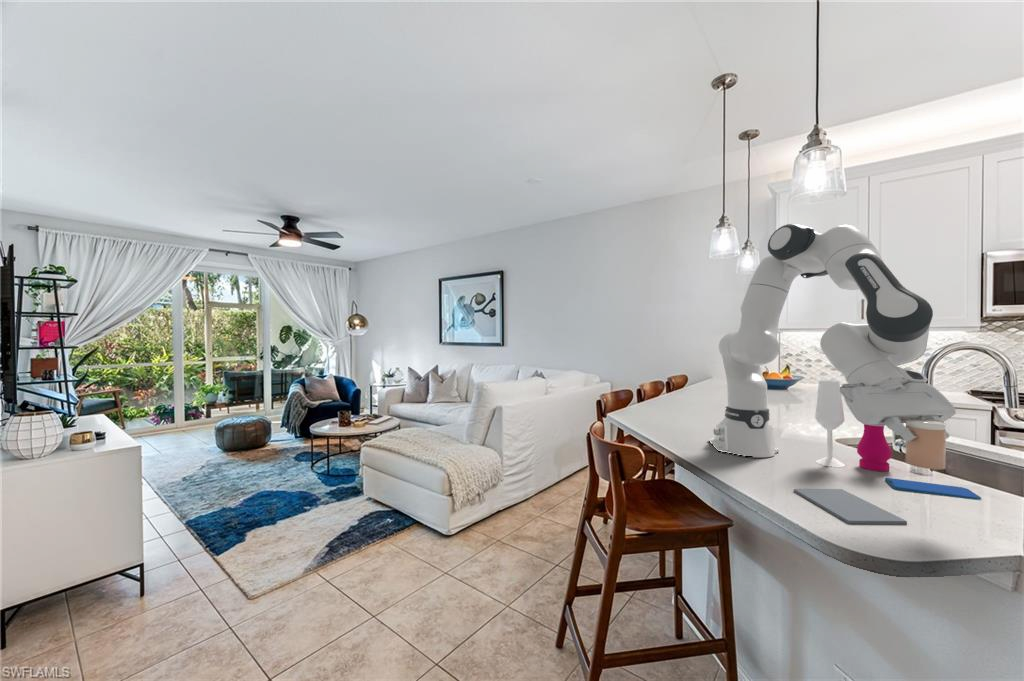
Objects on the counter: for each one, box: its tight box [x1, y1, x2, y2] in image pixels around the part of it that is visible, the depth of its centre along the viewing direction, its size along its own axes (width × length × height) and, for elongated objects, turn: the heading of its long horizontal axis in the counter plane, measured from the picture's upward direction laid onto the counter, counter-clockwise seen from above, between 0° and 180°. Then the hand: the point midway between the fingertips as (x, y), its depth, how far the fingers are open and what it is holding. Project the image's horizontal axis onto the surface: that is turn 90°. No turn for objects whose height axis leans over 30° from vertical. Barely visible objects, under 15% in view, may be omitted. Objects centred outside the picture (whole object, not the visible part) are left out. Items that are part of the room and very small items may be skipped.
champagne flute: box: [814, 379, 846, 468], centre depth 118 cm, size 7×7×24 cm
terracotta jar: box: [905, 419, 947, 470], centre depth 80 cm, size 6×6×8 cm
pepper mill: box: [856, 424, 893, 472], centre depth 113 cm, size 7×7×20 cm
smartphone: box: [884, 477, 982, 500], centre depth 97 cm, size 7×1×15 cm
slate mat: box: [793, 488, 908, 525], centre depth 89 cm, size 17×11×1 cm, turn 177°
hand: (928, 439), depth 80 cm, fingers closed on terracotta jar, 5 cm apart
